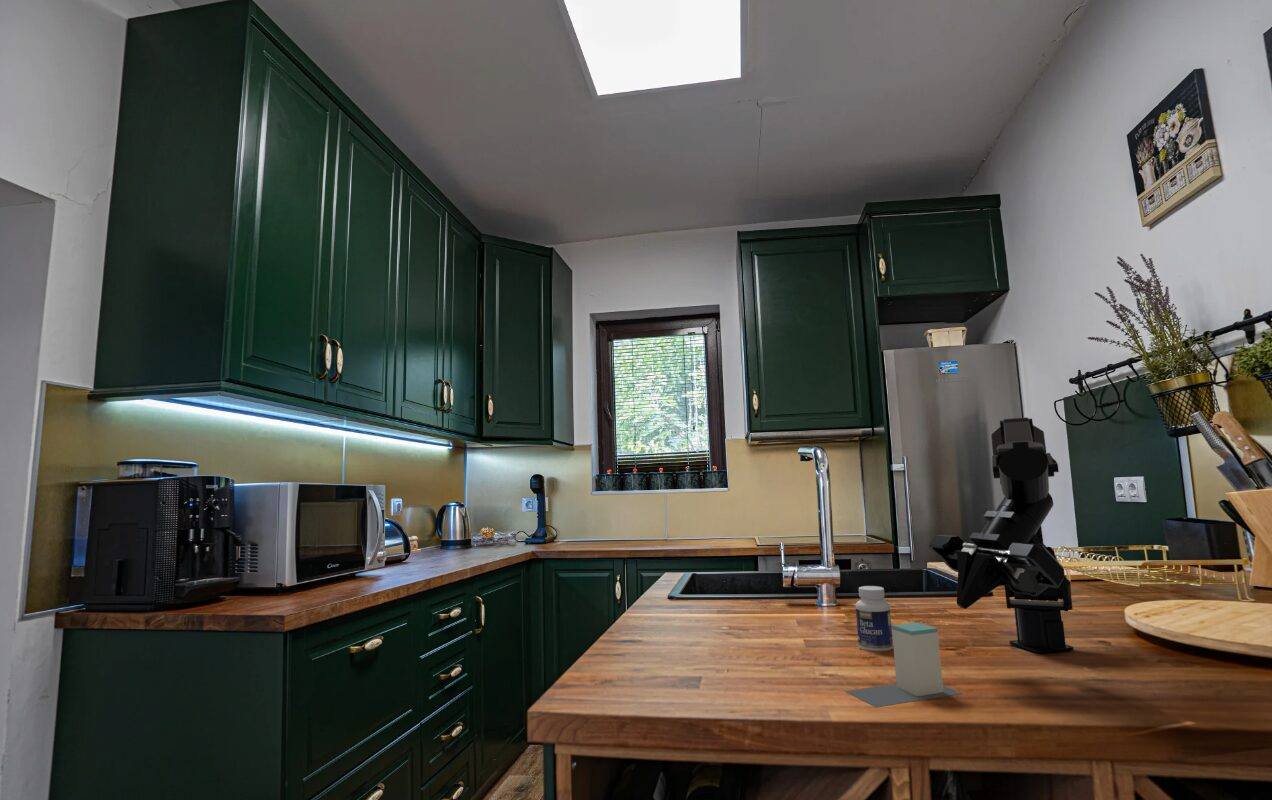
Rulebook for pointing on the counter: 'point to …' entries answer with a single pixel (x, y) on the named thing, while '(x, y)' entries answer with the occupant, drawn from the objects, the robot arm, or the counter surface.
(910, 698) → the slate mat
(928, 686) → the cream block
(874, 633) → the pill bottle
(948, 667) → the counter surface
